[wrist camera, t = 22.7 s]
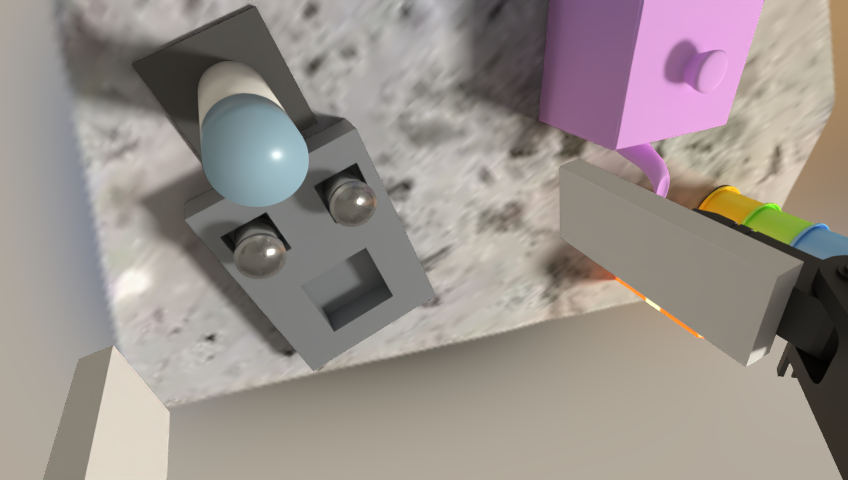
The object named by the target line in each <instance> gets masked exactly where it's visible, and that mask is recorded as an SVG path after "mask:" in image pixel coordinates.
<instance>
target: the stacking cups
mask: <svg viewBox="0 0 848 480" xmlns="http://www.w3.org/2000/svg"><path fill="white" fill-rule="evenodd" d="M698 209H700V210H705V211H709V212H714V213H718V214H720V215H722V216H725V217H727V218H729V219H731V220H734V221H736V222H737V223H738V224H739V225H740V224H743V225H745V226H747V227H749V228H752V229H753V230H754V232H757V231H758V232H761V233H763V234H765V235H767V236H770V237H772V238H774V239H776V240H779V241H781V242H783V243H785V244H788V245H790V246H792V247H794V248H797V249H799V250H801V251H803V252H806V253H808V254H810V255H813V256H815V257H817V258H820V259H822V260H824V259H826V258H829V257H831V256H839V255H848V237H845V236H843V235H840V234H837V233H835V232H832V231H830V230H829V228H828V226H827V225H825V224H823V223H816V224H813V223H811V222H808V221H806V220H803V219H800V218H798V217H795V216H793V215H790V214H787V213H785V212H782V211H781V209H780V207H779V206H778V205H777V204H775V203H765V204H764V203H761V202H759V201H756V200H753V199H751V198H748V197H746V196H743V195H741V194H740V192H739V191H738V190H737V189H736V188H735V187H732V186H724V187H721V188H719V189H717V190H715V191H714V192H712V193H711V194H710V195H709V196H708V197H707V198H706V199H705V200H704V201H703V202H702V204H701V205H700V206H699V208H698Z"/></svg>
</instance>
